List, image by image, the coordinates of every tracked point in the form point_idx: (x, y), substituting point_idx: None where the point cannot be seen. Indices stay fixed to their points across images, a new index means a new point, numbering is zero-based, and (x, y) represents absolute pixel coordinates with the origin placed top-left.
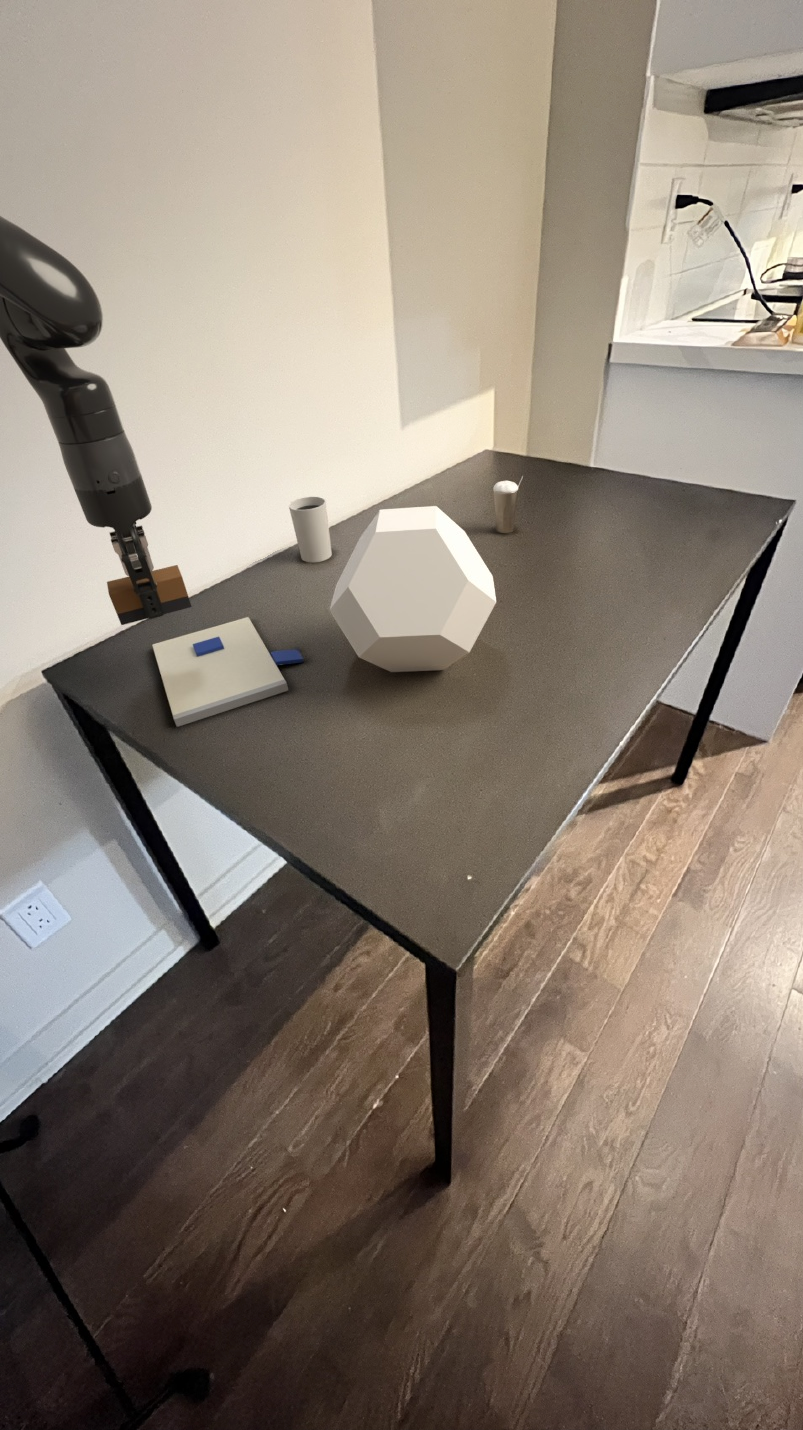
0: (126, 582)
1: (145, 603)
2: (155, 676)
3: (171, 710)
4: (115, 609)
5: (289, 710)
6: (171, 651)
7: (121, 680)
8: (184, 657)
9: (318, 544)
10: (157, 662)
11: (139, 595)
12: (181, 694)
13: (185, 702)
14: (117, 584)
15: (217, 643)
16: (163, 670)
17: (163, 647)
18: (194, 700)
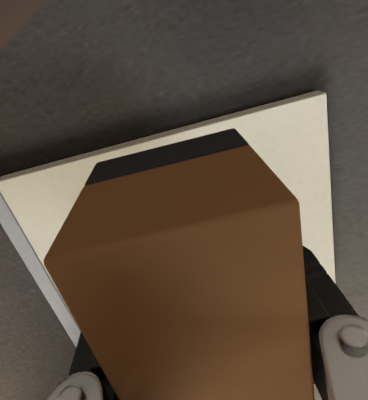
0: (211, 333)
1: (78, 342)
2: (196, 107)
3: (14, 177)
4: (76, 200)
5: (28, 338)
6: (265, 149)
7: (207, 13)
8: None
9: None
10: (227, 119)
11: (94, 358)
12: (72, 191)
13: (40, 202)
14: (199, 288)
15: None
16: (183, 140)
17: (294, 126)
18: (46, 218)
